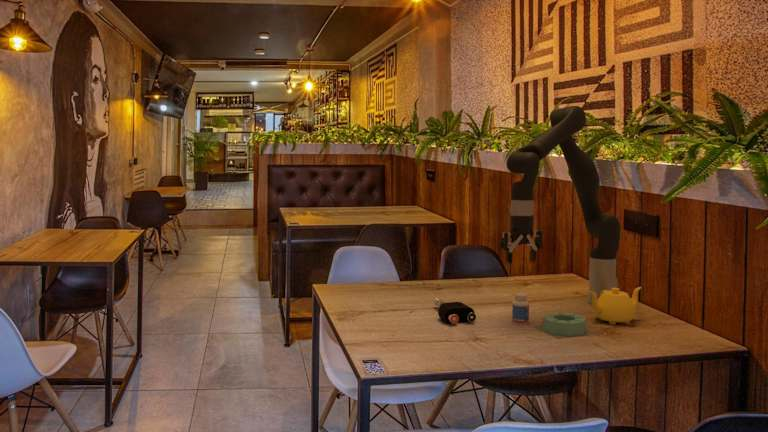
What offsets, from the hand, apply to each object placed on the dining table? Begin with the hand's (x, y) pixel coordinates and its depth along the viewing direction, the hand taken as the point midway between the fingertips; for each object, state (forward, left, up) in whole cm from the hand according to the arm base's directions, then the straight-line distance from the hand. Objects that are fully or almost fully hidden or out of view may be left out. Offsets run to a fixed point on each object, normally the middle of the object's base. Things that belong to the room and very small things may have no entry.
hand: (521, 262), depth 211 cm
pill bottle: (0, 0, -21) cm, 21 cm away
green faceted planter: (-8, +13, -20) cm, 25 cm away
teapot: (-30, +9, -21) cm, 38 cm away
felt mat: (-8, +13, -20) cm, 26 cm away
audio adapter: (+18, -17, -21) cm, 32 cm away
